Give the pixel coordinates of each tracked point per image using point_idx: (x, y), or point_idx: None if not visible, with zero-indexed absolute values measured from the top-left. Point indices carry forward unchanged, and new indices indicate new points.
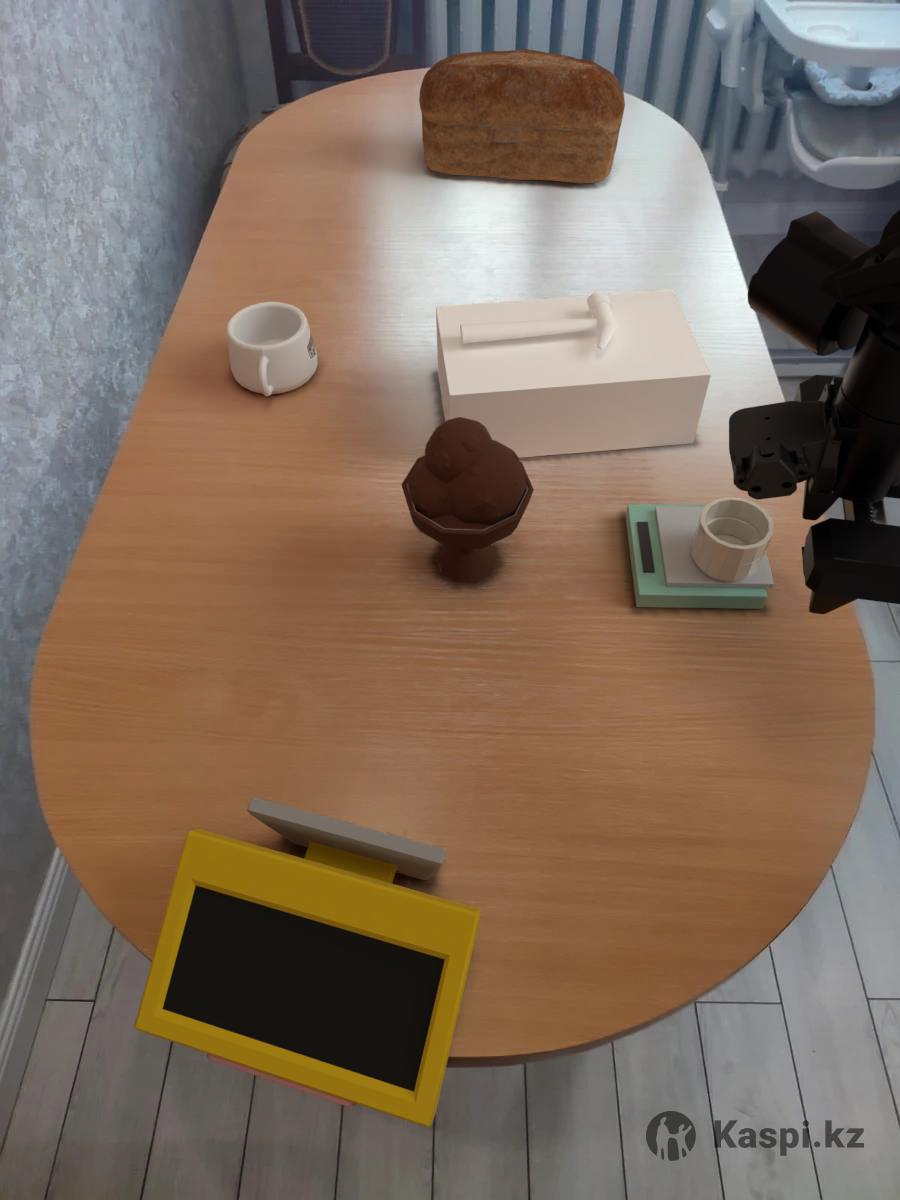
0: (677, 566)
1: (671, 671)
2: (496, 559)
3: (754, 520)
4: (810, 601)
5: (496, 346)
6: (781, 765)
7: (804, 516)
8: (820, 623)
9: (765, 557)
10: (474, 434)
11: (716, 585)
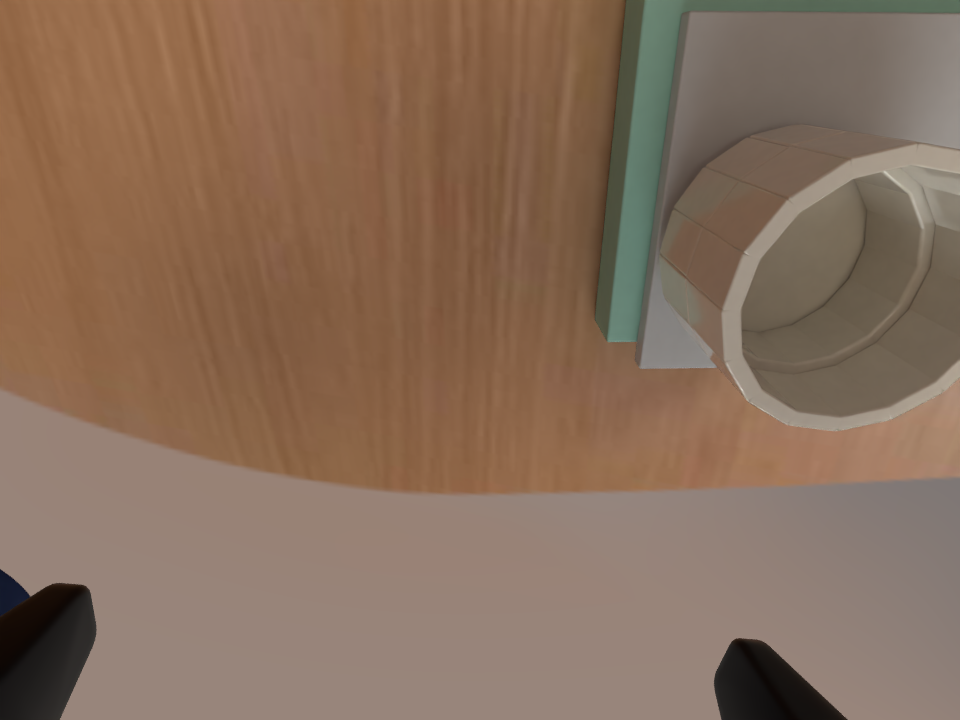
0: (759, 66)
1: (368, 11)
2: None
3: (872, 364)
4: (4, 641)
5: None
6: (110, 286)
7: (743, 655)
8: (542, 440)
9: None
10: None
11: (660, 200)
